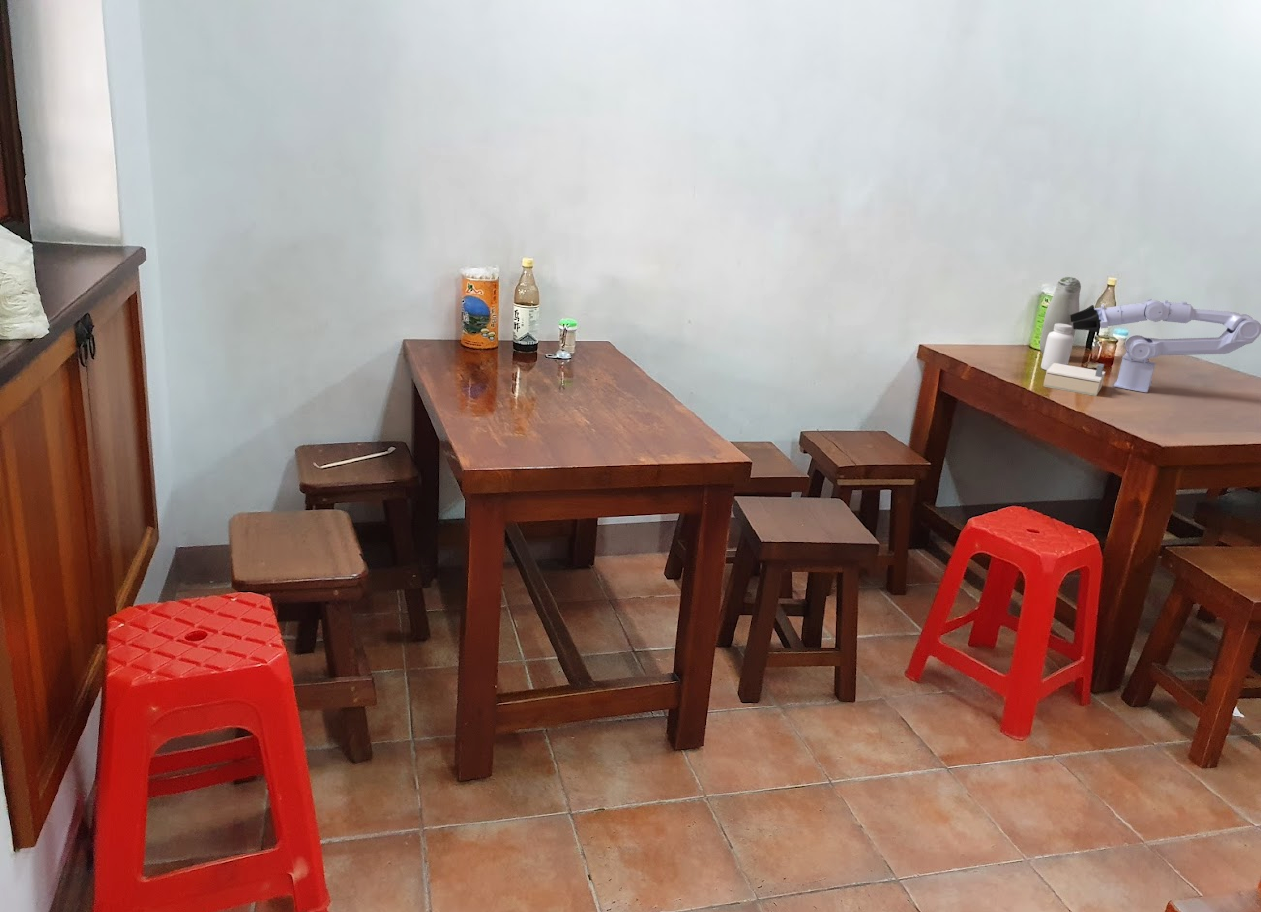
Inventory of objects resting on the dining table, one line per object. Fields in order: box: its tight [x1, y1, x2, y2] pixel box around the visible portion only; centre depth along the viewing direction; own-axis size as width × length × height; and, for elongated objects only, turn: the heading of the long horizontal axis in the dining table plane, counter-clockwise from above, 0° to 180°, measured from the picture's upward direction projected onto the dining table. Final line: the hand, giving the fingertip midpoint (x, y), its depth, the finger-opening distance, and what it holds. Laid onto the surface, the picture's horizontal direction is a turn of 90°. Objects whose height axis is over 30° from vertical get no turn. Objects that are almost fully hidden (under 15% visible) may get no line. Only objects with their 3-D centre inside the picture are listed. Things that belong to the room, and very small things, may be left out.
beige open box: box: [1042, 372, 1106, 397], centre depth 293 cm, size 15×14×4 cm
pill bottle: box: [1040, 323, 1075, 371], centre depth 310 cm, size 8×8×15 cm
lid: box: [1045, 363, 1106, 382], centre depth 291 cm, size 15×14×4 cm
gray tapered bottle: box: [1039, 276, 1082, 355], centre depth 324 cm, size 10×10×28 cm
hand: (1071, 322), depth 297 cm, fingers open, 7 cm apart
